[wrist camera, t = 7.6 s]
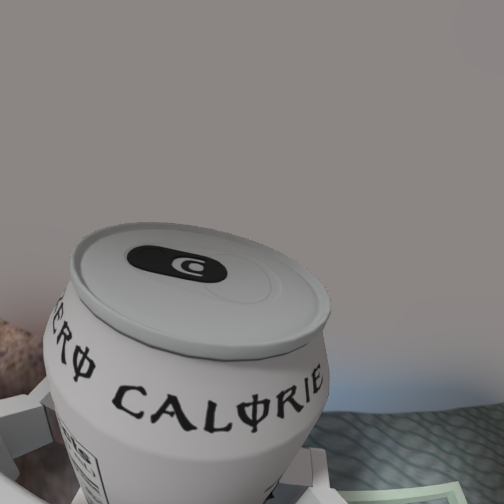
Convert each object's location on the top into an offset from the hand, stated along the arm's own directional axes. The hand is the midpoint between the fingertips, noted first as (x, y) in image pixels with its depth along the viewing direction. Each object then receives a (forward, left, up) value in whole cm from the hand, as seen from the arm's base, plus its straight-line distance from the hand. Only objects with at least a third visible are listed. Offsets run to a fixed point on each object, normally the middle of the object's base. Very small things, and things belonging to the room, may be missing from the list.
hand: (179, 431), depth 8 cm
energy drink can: (0, -1, -9) cm, 9 cm away
